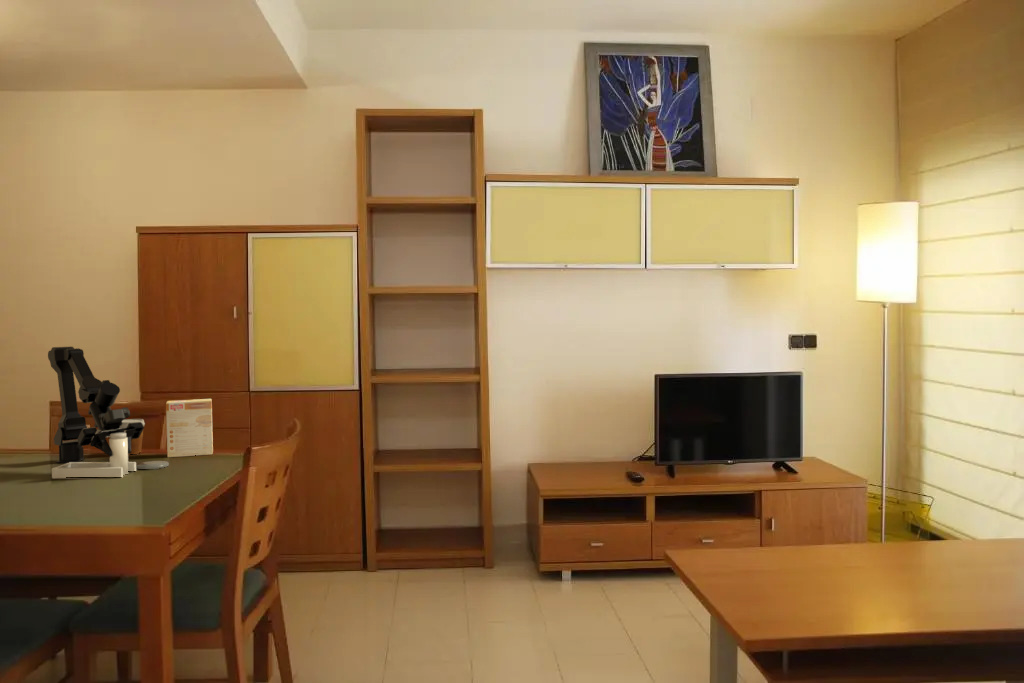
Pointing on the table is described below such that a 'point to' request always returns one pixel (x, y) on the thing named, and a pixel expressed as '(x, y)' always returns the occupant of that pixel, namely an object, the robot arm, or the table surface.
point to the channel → (89, 470)
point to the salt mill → (119, 451)
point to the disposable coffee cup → (135, 443)
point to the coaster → (152, 465)
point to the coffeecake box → (189, 427)
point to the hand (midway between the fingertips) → (120, 454)
